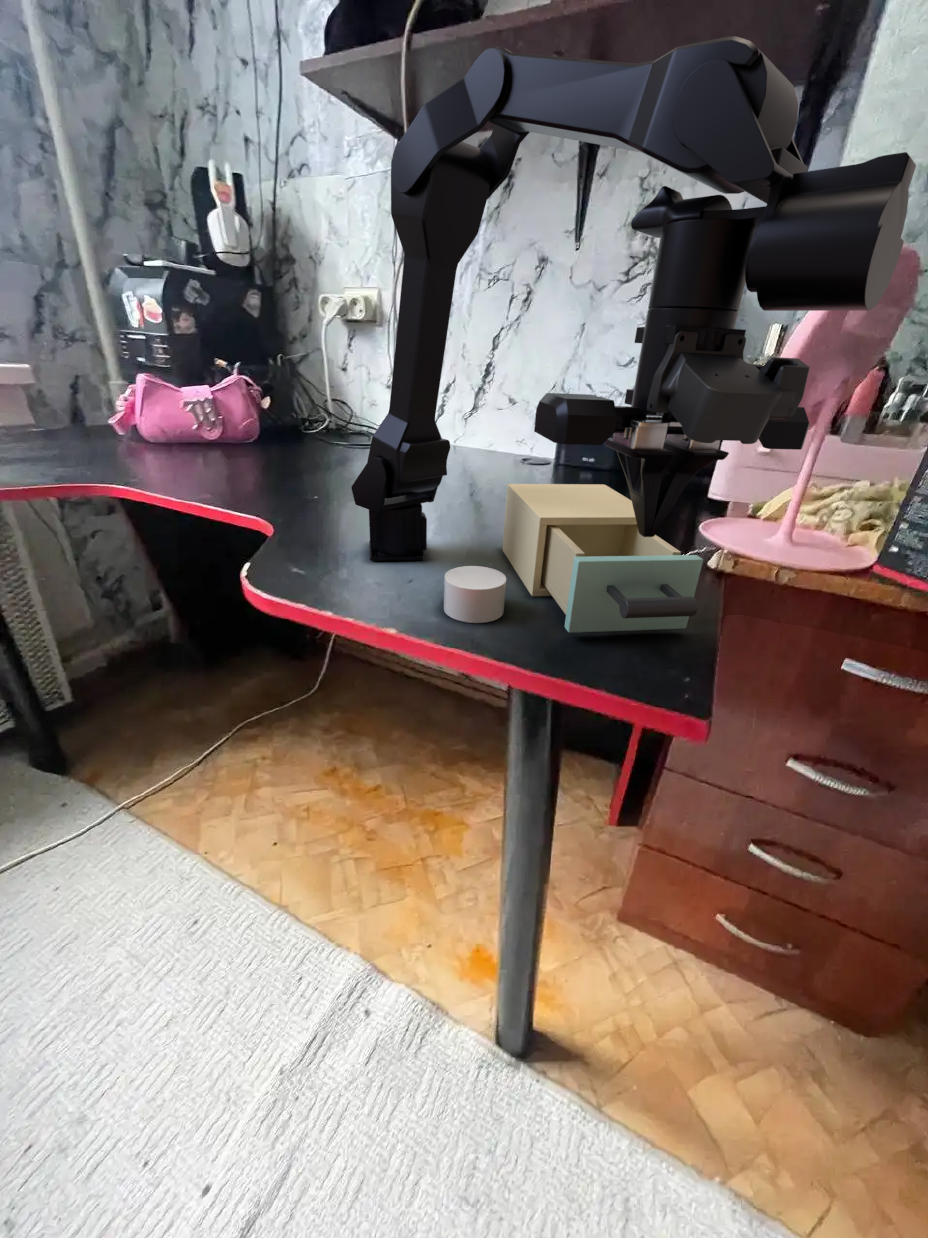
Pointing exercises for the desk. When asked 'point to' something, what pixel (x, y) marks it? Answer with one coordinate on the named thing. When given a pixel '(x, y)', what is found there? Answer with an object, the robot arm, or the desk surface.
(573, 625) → the drawer
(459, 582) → the cylinder
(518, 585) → the desk surface
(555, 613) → the desk surface
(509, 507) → the cabinet
